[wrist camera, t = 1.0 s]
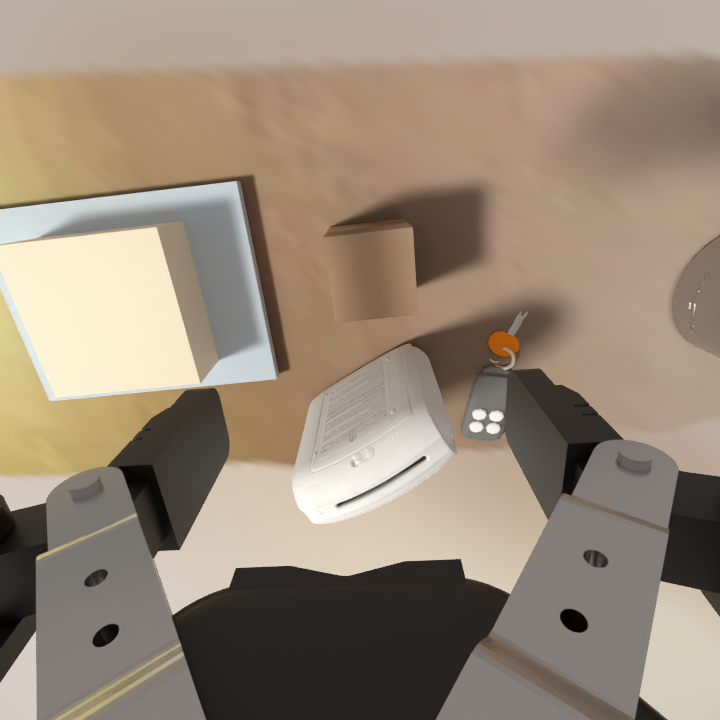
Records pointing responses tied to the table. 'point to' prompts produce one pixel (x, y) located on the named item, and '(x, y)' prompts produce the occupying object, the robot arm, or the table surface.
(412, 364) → the photo printer
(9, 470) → the table surface
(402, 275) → the walnut block
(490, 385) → the key chain
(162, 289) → the butter dish
